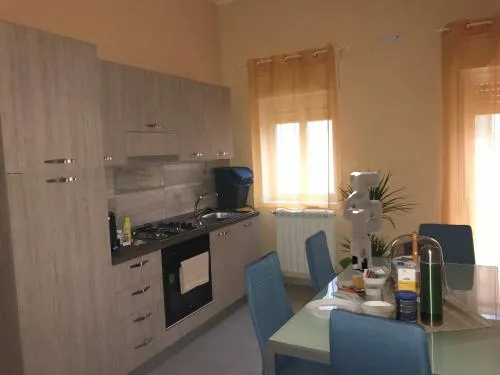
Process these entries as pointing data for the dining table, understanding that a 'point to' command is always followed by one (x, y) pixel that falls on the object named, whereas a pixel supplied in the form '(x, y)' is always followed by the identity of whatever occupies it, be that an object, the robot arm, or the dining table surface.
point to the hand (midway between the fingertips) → (359, 266)
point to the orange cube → (358, 281)
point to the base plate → (355, 287)
